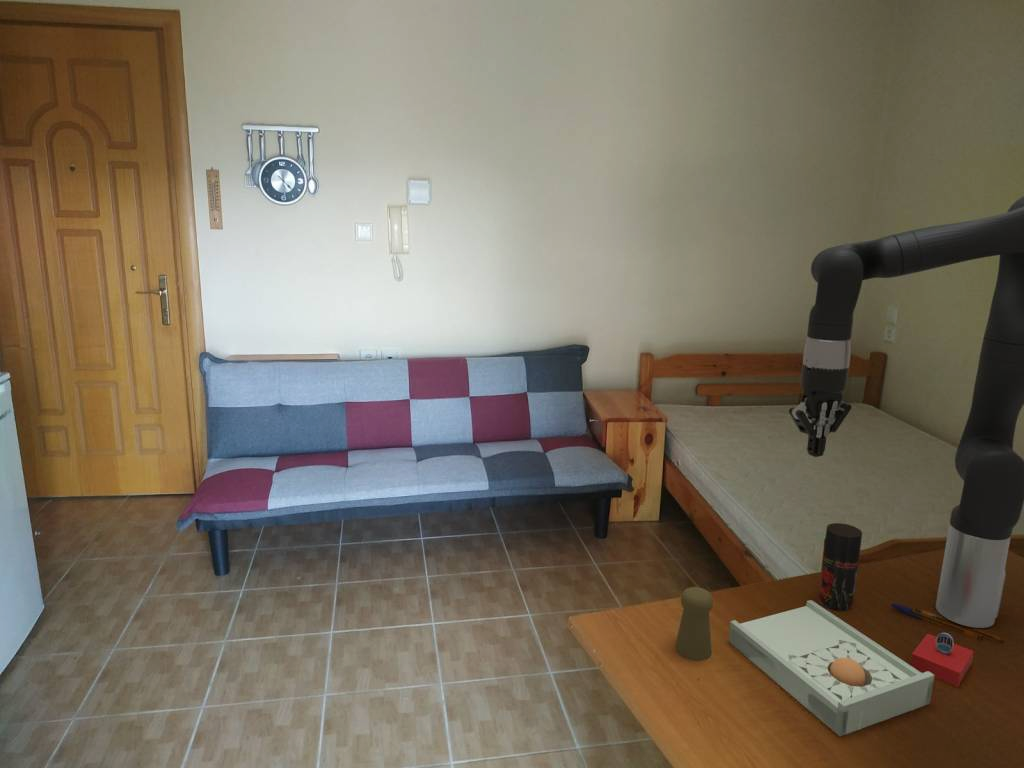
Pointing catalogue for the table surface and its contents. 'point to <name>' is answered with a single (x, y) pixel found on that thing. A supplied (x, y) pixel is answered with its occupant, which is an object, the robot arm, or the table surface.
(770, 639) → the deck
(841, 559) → the deodorant
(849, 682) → the ball
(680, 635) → the olive pepper shaker
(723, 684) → the table surface
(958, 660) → the red slab
